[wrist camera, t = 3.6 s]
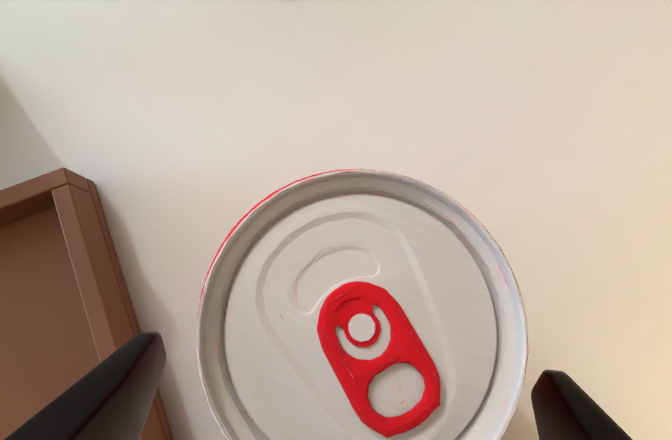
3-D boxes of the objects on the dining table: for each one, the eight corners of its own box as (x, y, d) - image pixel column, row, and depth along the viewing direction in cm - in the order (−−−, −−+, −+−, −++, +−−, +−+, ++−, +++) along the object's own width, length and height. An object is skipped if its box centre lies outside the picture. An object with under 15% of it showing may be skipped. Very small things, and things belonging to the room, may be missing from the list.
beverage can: (368, 216, 19) (429, 77, 7) (437, 334, 18) (650, 409, 6) (251, 281, 18) (96, 250, 6) (316, 407, 17) (277, 657, 5)
